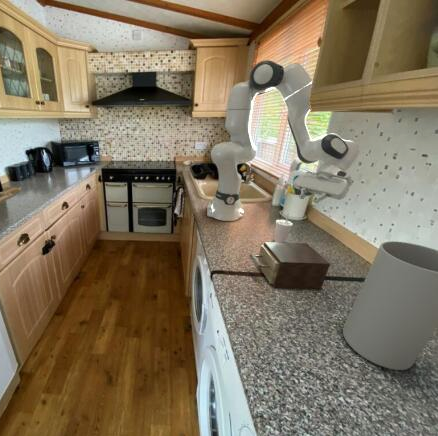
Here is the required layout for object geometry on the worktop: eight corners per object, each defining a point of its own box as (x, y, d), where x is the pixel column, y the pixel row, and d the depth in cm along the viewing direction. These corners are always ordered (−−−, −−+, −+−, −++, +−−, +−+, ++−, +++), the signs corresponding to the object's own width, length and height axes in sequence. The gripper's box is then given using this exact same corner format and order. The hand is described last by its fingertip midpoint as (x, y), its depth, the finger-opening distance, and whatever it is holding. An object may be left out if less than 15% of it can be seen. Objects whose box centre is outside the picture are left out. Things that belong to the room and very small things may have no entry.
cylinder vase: (329, 327, 63) (364, 242, 53) (373, 324, 64) (415, 240, 54) (375, 374, 51) (431, 277, 41) (427, 369, 52) (494, 274, 43)
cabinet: (274, 287, 77) (281, 262, 73) (259, 265, 89) (264, 242, 85) (321, 289, 77) (330, 263, 73) (299, 266, 88) (306, 243, 84)
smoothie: (289, 247, 101) (298, 216, 95) (273, 245, 102) (280, 215, 97) (284, 240, 107) (292, 210, 101) (269, 238, 108) (276, 209, 102)
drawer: (256, 283, 77) (261, 262, 74) (244, 263, 88) (248, 244, 85) (313, 285, 77) (320, 264, 74) (294, 265, 87) (300, 246, 84)
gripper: (302, 165, 110) (283, 189, 109) (354, 175, 93) (332, 203, 93) (305, 174, 113) (287, 197, 113) (356, 185, 96) (335, 212, 96)
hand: (307, 200), depth 103 cm, fingers open, 5 cm apart
